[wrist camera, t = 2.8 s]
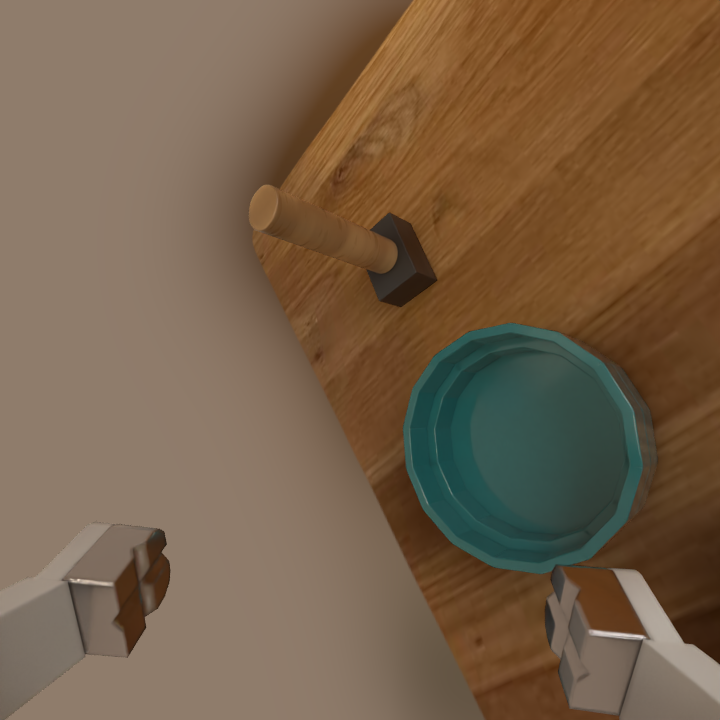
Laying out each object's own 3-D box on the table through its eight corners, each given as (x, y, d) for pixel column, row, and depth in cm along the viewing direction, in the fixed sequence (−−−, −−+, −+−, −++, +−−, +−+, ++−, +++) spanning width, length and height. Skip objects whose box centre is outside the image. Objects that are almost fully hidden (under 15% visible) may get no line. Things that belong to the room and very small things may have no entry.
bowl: (433, 353, 37) (395, 346, 33) (636, 314, 28) (616, 299, 24) (450, 540, 35) (412, 556, 31) (677, 564, 26) (662, 591, 22)
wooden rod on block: (377, 251, 42) (233, 193, 30) (410, 223, 39) (268, 148, 28) (400, 307, 39) (255, 266, 28) (437, 280, 37) (295, 224, 26)
